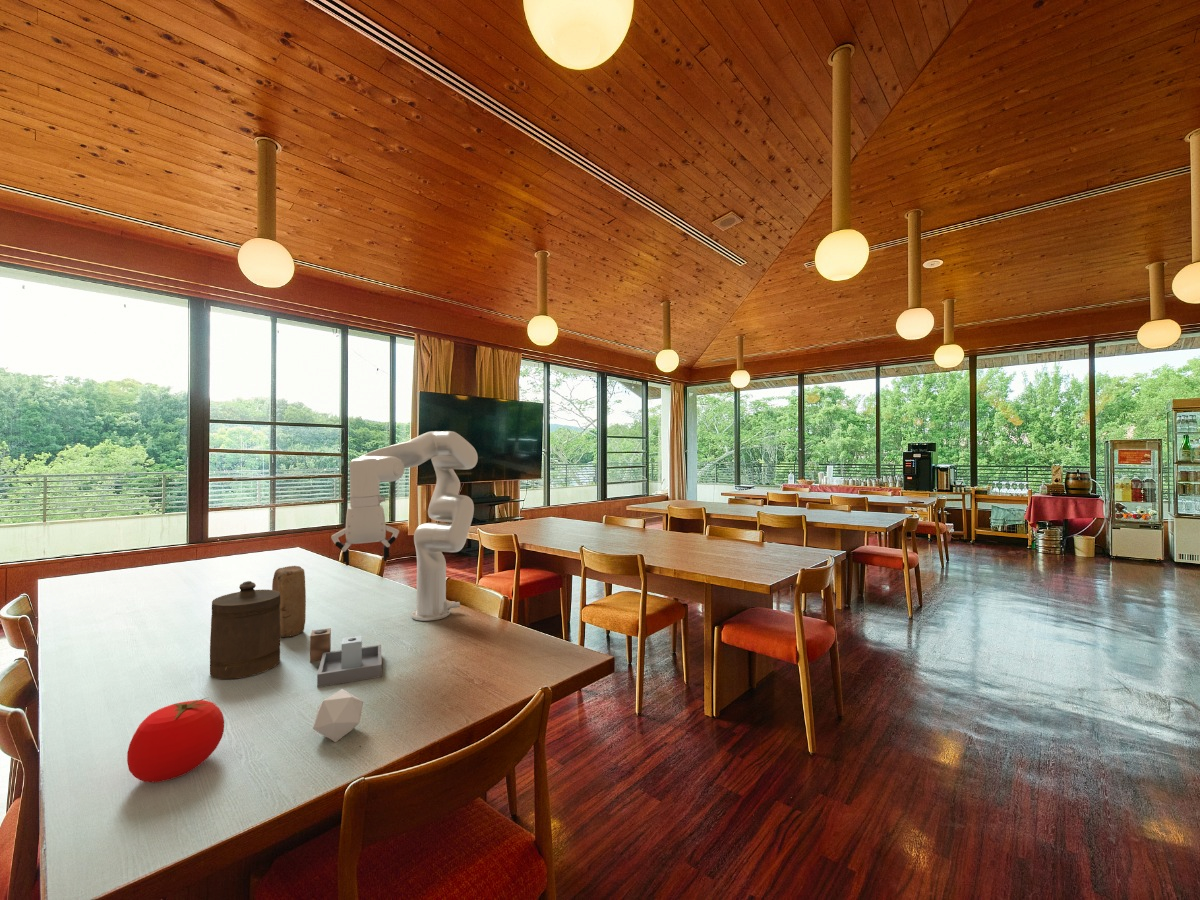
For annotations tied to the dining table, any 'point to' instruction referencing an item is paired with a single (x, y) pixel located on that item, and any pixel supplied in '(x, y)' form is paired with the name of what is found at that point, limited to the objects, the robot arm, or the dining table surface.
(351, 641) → the grey rectangular block
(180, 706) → the tomato
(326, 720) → the die
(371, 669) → the tray
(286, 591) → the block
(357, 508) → the robot arm
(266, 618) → the wooden container
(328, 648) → the walnut block
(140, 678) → the dining table surface
